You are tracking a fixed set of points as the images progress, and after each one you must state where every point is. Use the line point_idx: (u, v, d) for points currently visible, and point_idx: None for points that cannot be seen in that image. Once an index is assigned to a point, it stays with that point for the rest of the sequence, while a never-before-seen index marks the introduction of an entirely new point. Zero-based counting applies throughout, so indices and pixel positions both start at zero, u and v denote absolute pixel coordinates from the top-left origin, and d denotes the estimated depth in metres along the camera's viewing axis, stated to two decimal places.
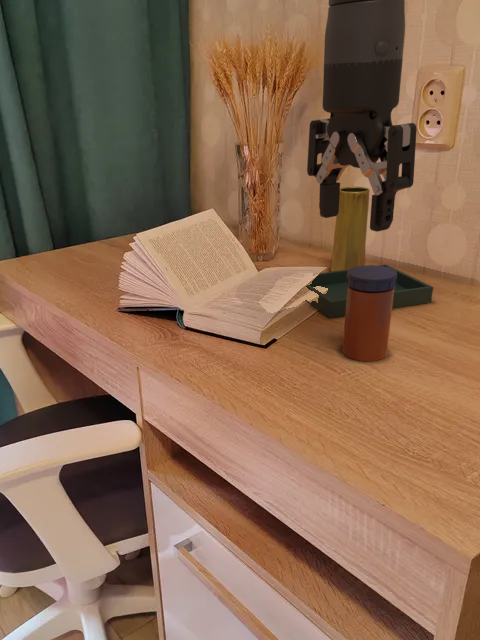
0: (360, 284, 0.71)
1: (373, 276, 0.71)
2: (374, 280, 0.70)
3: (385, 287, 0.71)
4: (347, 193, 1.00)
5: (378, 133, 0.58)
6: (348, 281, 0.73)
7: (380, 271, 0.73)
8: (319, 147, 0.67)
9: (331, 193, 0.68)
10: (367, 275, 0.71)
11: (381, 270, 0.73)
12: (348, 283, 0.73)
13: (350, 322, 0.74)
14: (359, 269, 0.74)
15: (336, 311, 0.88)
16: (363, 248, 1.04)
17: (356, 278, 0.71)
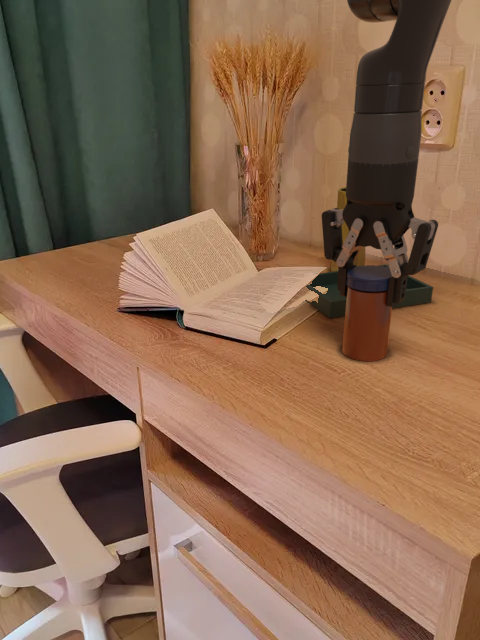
0: (360, 284, 0.71)
1: (373, 276, 0.71)
2: (374, 280, 0.70)
3: (385, 287, 0.71)
4: None
5: (405, 222, 0.66)
6: (348, 281, 0.73)
7: (380, 271, 0.73)
8: (334, 233, 0.74)
9: None
10: (367, 275, 0.71)
11: (381, 270, 0.73)
12: (348, 283, 0.73)
13: (350, 322, 0.74)
14: (359, 269, 0.74)
15: (336, 311, 0.88)
16: (363, 248, 1.04)
17: (356, 278, 0.71)
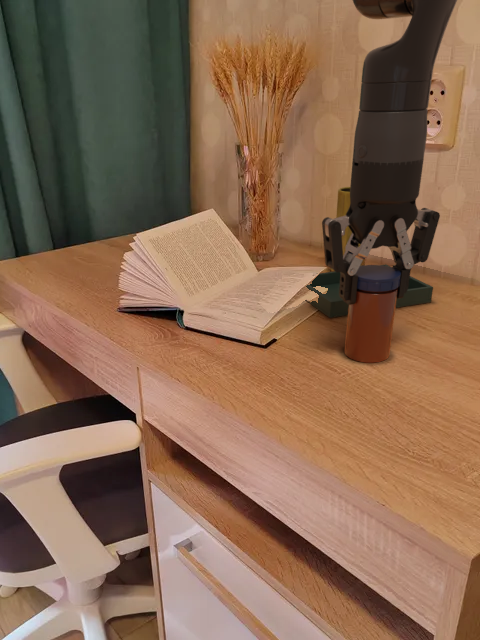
0: (388, 284, 0.70)
1: (388, 274, 0.71)
2: (398, 277, 0.70)
3: None
4: (347, 193, 1.00)
5: (416, 214, 0.69)
6: (370, 286, 0.70)
7: (377, 269, 0.73)
8: None
9: None
10: (383, 275, 0.71)
11: (374, 268, 0.73)
12: (370, 288, 0.70)
13: (353, 324, 0.74)
14: (361, 273, 0.72)
15: (336, 311, 0.88)
16: None
17: (384, 280, 0.69)
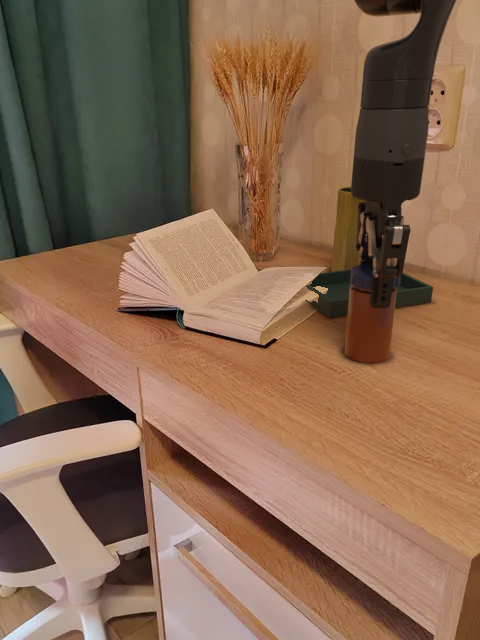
0: None
1: None
2: None
3: None
4: (347, 193, 1.00)
5: None
6: (398, 281, 0.71)
7: (367, 269, 0.72)
8: None
9: None
10: None
11: (364, 269, 0.72)
12: (398, 283, 0.71)
13: (353, 324, 0.74)
14: None
15: (336, 311, 0.88)
16: None
17: None
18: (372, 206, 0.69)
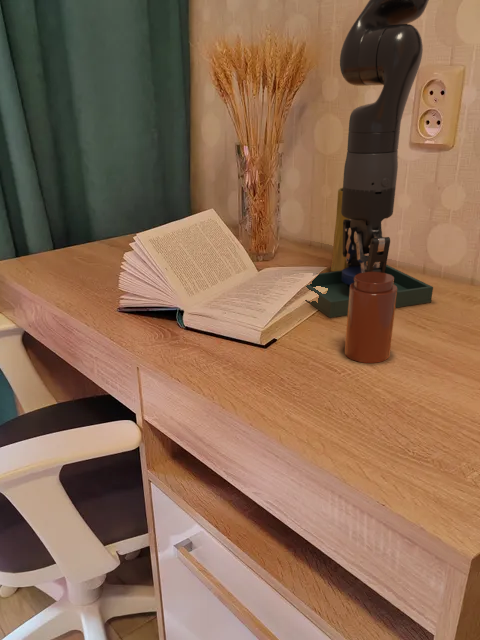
0: None
1: None
2: None
3: None
4: None
5: None
6: None
7: (354, 270, 0.94)
8: None
9: None
10: None
11: (352, 270, 0.94)
12: None
13: (353, 324, 0.74)
14: None
15: (336, 311, 0.88)
16: None
17: None
18: (357, 223, 0.91)
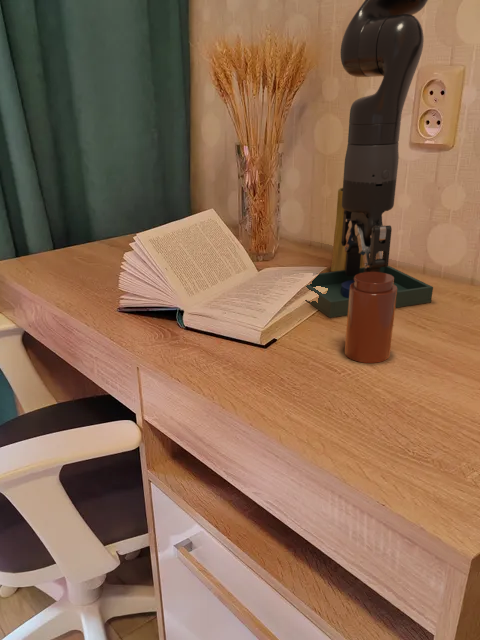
0: None
1: None
2: None
3: None
4: None
5: None
6: None
7: None
8: None
9: None
10: None
11: None
12: None
13: (353, 324, 0.74)
14: None
15: (336, 311, 0.88)
16: None
17: None
18: (358, 216, 0.90)
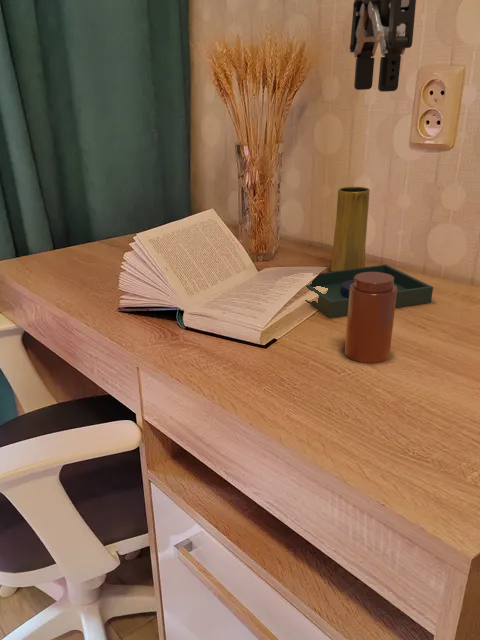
0: None
1: None
2: None
3: None
4: (347, 193, 1.00)
5: None
6: None
7: None
8: None
9: None
10: None
11: None
12: None
13: (353, 324, 0.74)
14: None
15: (336, 311, 0.88)
16: (363, 248, 1.04)
17: None
18: None
